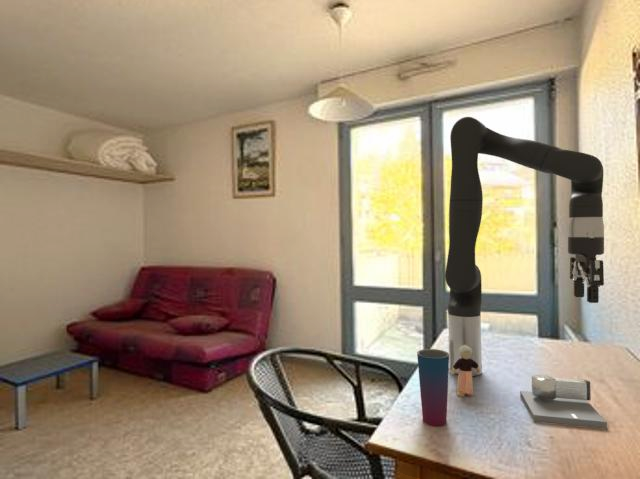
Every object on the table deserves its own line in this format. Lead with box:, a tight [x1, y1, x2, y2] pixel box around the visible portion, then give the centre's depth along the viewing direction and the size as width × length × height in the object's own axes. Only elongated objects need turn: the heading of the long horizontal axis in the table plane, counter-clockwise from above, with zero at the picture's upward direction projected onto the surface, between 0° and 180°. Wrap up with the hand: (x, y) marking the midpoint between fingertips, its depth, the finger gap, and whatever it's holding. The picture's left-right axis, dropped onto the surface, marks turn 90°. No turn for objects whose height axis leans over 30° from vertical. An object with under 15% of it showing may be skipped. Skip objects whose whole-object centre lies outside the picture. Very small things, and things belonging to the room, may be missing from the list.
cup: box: [416, 348, 450, 427], centre depth 85 cm, size 7×7×15 cm
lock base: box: [519, 390, 608, 430], centre depth 88 cm, size 14×14×2 cm
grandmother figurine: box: [450, 345, 480, 397], centre depth 99 cm, size 8×4×13 cm, turn 105°
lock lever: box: [531, 374, 591, 401], centre depth 90 cm, size 12×5×4 cm, turn 73°
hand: (585, 299), depth 97 cm, fingers open, 8 cm apart
